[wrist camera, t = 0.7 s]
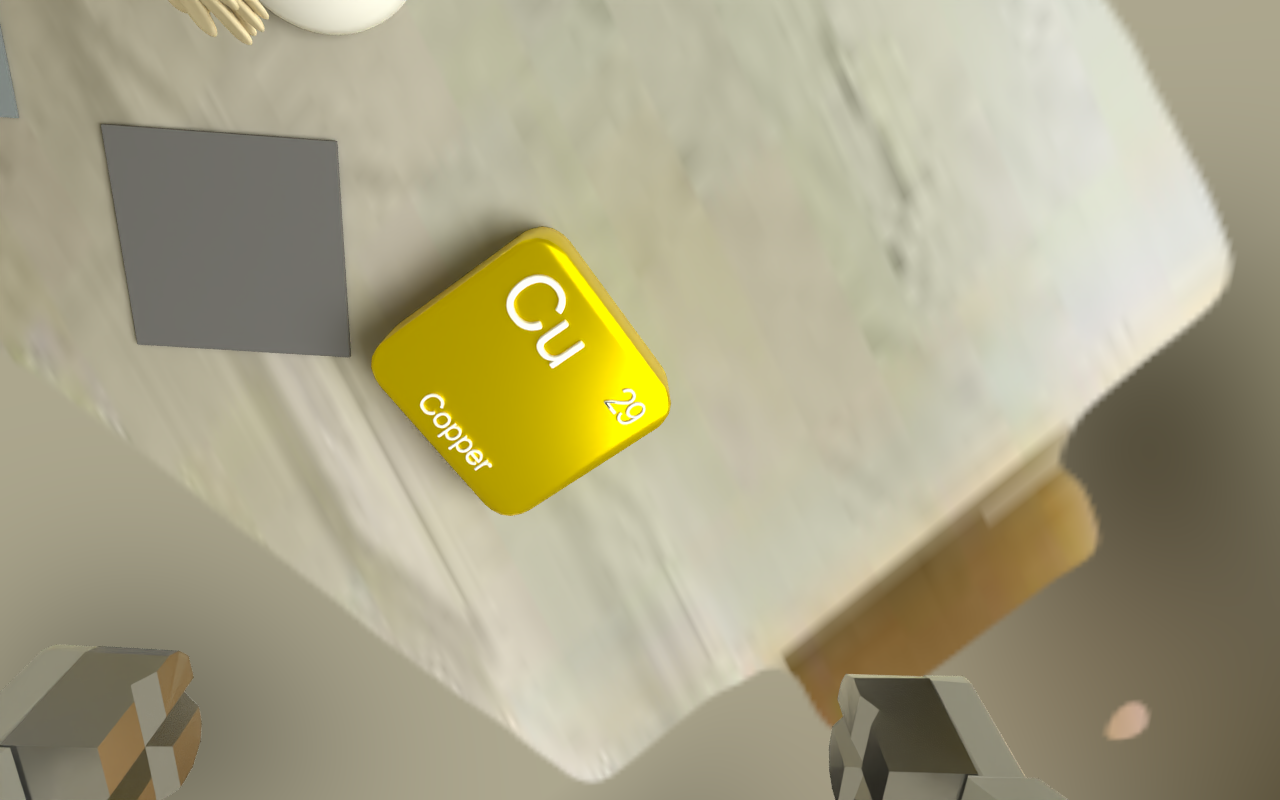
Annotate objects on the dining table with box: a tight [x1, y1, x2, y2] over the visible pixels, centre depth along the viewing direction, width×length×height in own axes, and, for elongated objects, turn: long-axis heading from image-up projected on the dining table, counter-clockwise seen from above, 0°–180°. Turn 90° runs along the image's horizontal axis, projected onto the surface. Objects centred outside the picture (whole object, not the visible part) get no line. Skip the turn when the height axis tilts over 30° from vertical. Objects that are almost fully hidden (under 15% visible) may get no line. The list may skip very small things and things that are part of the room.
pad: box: [101, 124, 351, 357], centre depth 52 cm, size 14×14×1 cm
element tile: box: [371, 227, 671, 516], centre depth 54 cm, size 15×15×5 cm
